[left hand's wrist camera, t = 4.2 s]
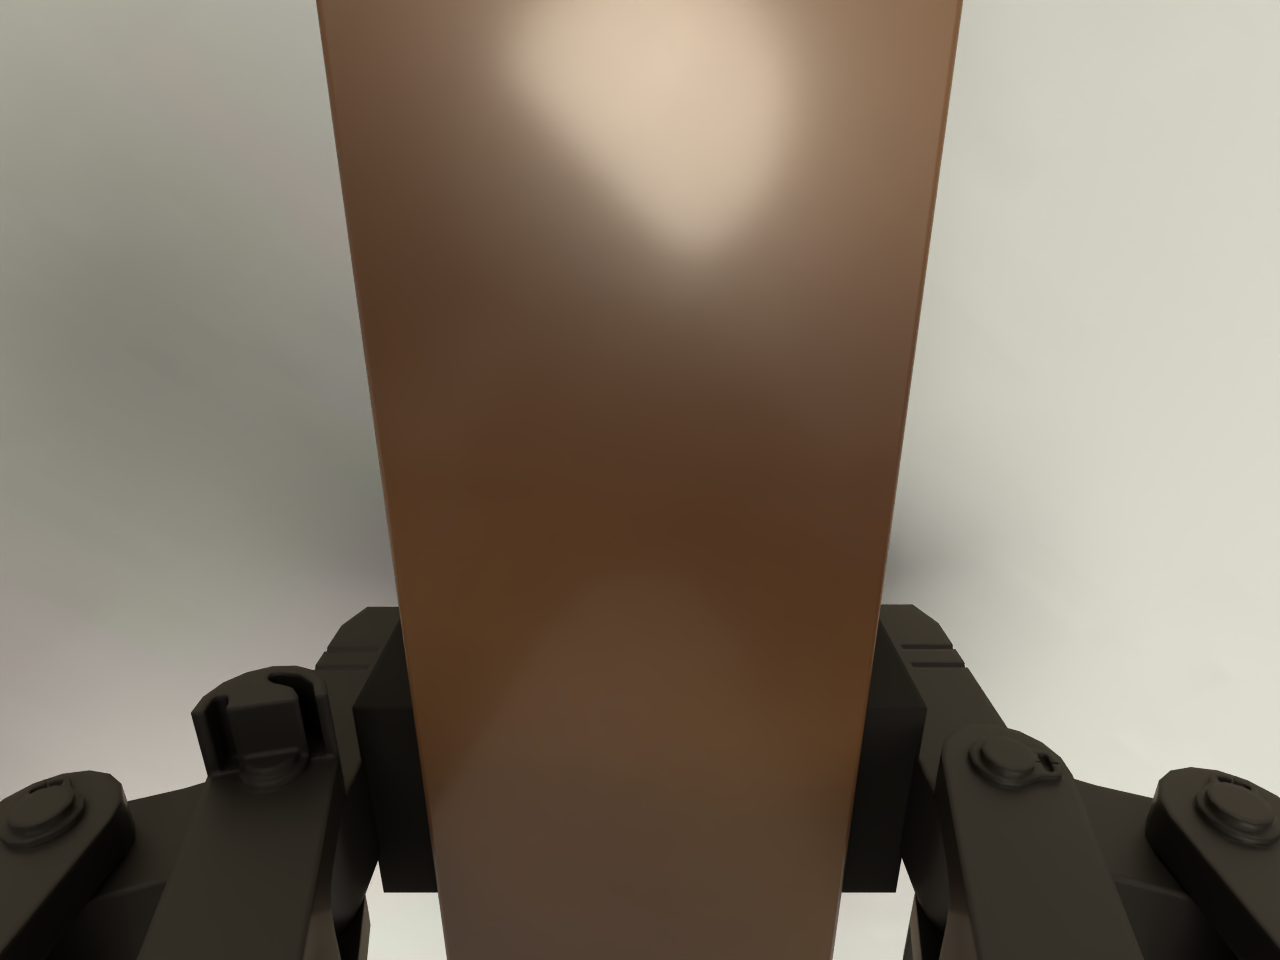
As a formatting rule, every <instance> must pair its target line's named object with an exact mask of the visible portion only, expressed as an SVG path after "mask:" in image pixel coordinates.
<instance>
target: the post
mask: <svg viewBox="0 0 1280 960" xmlns="http://www.w3.org/2000/svg"><path fill="white" fill-rule="evenodd" d="M316 4H317V11H318V19H319V26H320V33H321V41H322V48H323V55H324V63H325V70H326V77H327V85H328V92H329V99H330V107H331V114H332V121H333V129H334V136H335V143H336V150H337V158H338V165H339V172H340V180H341V187H342V194H343V202H344V209H345V216H346V224H347V231H348V238H349V246H350V253H351V260H352V268H353V275H354V282H355V289H356V297H357V304H358V311H359V319H360V326H361V333H362V341H363V348H364V355H365V363H366V370H367V377H368V385H369V392H370V399H371V407H372V414H373V421H374V428H375V436H376V443H377V450H378V458H379V465H380V472H381V480H382V487H383V494H384V502H385V509H386V516H387V524H388V531H389V538H390V546H391V553H392V560H393V567H394V575H395V582H396V589H397V597H398V604H399V611H400V619H401V626H402V633H403V641H404V648H405V655H406V663H407V670H408V677H409V685H410V692H411V699H412V706H413V714H414V721H415V728H416V736H417V743H418V750H419V758H420V765H421V772H422V780H423V787H424V794H425V802H426V809H427V816H428V824H429V831H430V838H431V845H432V853H433V860H434V867H435V875H436V882H437V889H438V897H439V904H440V911H441V919H442V926H443V933H444V941H445V948H446V955H447V960H832V959H833V951H834V944H835V937H836V929H837V922H838V915H839V907H840V900H841V893H842V885H843V878H844V871H845V863H846V856H847V849H848V841H849V834H850V827H851V819H852V812H853V805H854V797H855V790H856V783H857V775H858V768H859V761H860V753H861V746H862V739H863V731H864V724H865V717H866V709H867V702H868V695H869V687H870V680H871V673H872V665H873V658H874V651H875V643H876V636H877V629H878V621H879V614H880V607H881V599H882V592H883V585H884V577H885V570H886V563H887V555H888V548H889V541H890V533H891V526H892V519H893V511H894V504H895V497H896V489H897V482H898V475H899V467H900V460H901V453H902V445H903V438H904V431H905V423H906V416H907V409H908V401H909V394H910V387H911V379H912V372H913V365H914V357H915V350H916V343H917V335H918V328H919V320H920V313H921V306H922V298H923V291H924V284H925V276H926V269H927V262H928V254H929V247H930V240H931V232H932V225H933V218H934V210H935V203H936V196H937V188H938V181H939V174H940V166H941V159H942V152H943V144H944V137H945V130H946V122H947V115H948V108H949V100H950V93H951V86H952V78H953V71H954V64H955V56H956V49H957V42H958V34H959V27H960V20H961V12H962V5H963V0H316Z"/></svg>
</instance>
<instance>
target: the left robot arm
mask: <svg viewBox="0 0 1280 960" xmlns="http://www.w3.org/2000/svg"><path fill="white" fill-rule="evenodd" d="M964 664H965V663H964V661H963V660H962V658H961V657H960V655H959V654H958V652H957V651H956V649H953V645H952V643H951V642H950V640H949V639H948V637H947V636H946V634H945V633H944V631H943V629H942V628H941V626H940V625H939V623H937V622H936V621H935V620H933V619H932V618H930V617H929V616H928V615H926V614H925V613H923V612H922V611H921V610H919V609H918V608H917V607H915V606H914V605H881V607H880V614H879V621H878V629H877V636H876V643H875V651H874V658H873V665H872V673H871V680H870V687H869V695H868V702H867V709H866V717H865V724H864V731H863V739H862V746H861V753H860V761H859V768H858V775H857V783H856V790H855V797H854V805H853V812H852V819H851V827H850V834H849V841H848V849H847V856H846V863H845V871H844V878H843V885H842V892H896V888H897V882H898V876H899V870H900V864H901V859H903V862H904V865H905V867H906V870H907V872H908V875H909V878H910V880H911V883H912V886H913V888H914V891H915V895H914V901H913V906H912V911H911V917H910V922H909V928H908V933H907V938H906V944H905V949H904V955H903V960H1280V798H1279V797H1278V796H1276V795H1275V794H1273V793H1271V792H1269V791H1267V790H1265V789H1263V788H1261V787H1259V786H1257V785H1255V784H1254V783H1252V782H1250V781H1248V780H1245V779H1242V778H1239V777H1237V776H1233V775H1230V774H1227V773H1224V772H1221V771H1218V770H1210V769H1202V768H1194V767H1189V768H1183V769H1177V770H1171V771H1170V772H1168V773H1167V774H1166V775H1165V776H1164V777H1163V778H1161V779H1160V780H1159V782H1158V785H1157V788H1156V792H1155V795H1154V798H1149V797H1145V796H1140V795H1136V794H1132V793H1127V792H1123V791H1118V790H1114V789H1109V788H1105V787H1101V786H1096V785H1093V784H1089V783H1086V782H1083V781H1079V780H1076V779H1074V778H1073V775H1072V774H1071V772H1070V771H1069V769H1068V768H1067V766H1066V765H1065V763H1064V762H1063V760H1062V759H1061V757H1059V756H1058V755H1057V754H1056V753H1054V752H1053V751H1052V750H1051V749H1050V748H1048V747H1047V746H1046V745H1045V744H1043V743H1042V742H1040V741H1038V740H1036V739H1034V738H1032V737H1030V736H1028V735H1026V734H1024V733H1022V732H1020V731H1016V730H1013V729H1009V728H1007V726H1006V725H1005V723H1004V722H1003V720H1002V719H1001V717H1000V716H999V714H998V713H997V711H996V710H995V708H994V707H993V705H992V704H991V702H990V701H989V699H988V698H987V696H986V695H985V693H984V692H983V690H982V689H981V687H980V686H979V684H978V683H977V681H976V680H975V678H974V676H973V675H972V673H971V672H970V670H969V669H968V668H965V665H964ZM315 666H316V668H315V670H310V669H307V668H303V667H299V666H272V667H268V668H263V669H259V670H255V671H250V672H247V673H244V674H242V675H240V676H237V677H235V678H233V679H231V680H228V681H226V682H224V683H222V684H221V685H219V686H218V687H216V688H215V689H214V690H212V691H211V692H209V693H208V694H207V695H205V696H204V697H203V698H202V699H201V700H200V702H199V703H198V704H197V706H196V707H195V708H194V709H193V711H192V712H191V716H192V719H193V723H194V727H195V730H196V734H197V738H198V741H199V745H200V749H201V752H202V756H203V760H204V763H205V767H206V771H207V775H208V777H207V779H206V782H204V783H201V784H198V785H194V786H191V787H188V788H184V789H180V790H176V791H171V792H167V793H162V794H158V795H154V796H149V797H145V798H140V799H136V800H132V801H127V800H126V797H125V793H124V790H123V787H122V784H121V783H120V782H119V781H117V780H116V779H115V778H114V777H113V776H112V775H111V774H108V773H102V772H96V771H90V770H89V771H81V772H73V773H65V774H61V775H58V776H55V777H52V778H49V779H45V780H42V781H40V782H37V783H34V784H32V785H30V786H28V787H26V788H24V789H22V790H20V791H18V792H16V793H14V794H13V795H11V796H9V797H7V798H5V799H3V800H2V801H1V802H0V960H367V955H368V944H369V934H370V919H369V912H368V906H367V901H366V895H365V894H366V891H367V888H368V886H369V883H370V880H371V878H372V875H373V872H374V870H375V867H376V865H377V862H378V861H379V867H380V873H381V879H382V885H383V890H384V892H438V889H437V882H436V875H435V867H434V860H433V853H432V845H431V838H430V831H429V824H428V816H427V809H426V802H425V794H424V787H423V780H422V772H421V765H420V758H419V750H418V743H417V736H416V728H415V721H414V714H413V706H412V699H411V692H410V685H409V677H408V670H407V663H406V655H405V648H404V641H403V633H402V626H401V619H400V611H399V607H367V608H365V609H364V610H363V611H361V612H360V613H358V614H357V615H356V616H354V617H353V618H351V619H350V620H349V621H347V622H346V623H345V624H343V625H342V626H341V627H340V629H339V630H338V632H337V633H336V635H335V636H334V638H333V640H332V641H331V643H330V644H329V646H328V647H327V652H324V653H323V655H322V656H321V658H320V659H319V661H318V662H317V664H316V665H315Z"/></svg>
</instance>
